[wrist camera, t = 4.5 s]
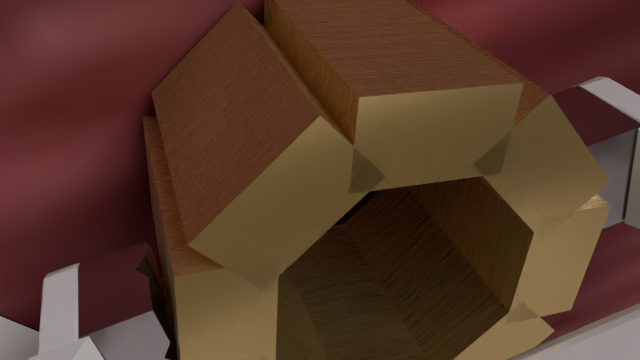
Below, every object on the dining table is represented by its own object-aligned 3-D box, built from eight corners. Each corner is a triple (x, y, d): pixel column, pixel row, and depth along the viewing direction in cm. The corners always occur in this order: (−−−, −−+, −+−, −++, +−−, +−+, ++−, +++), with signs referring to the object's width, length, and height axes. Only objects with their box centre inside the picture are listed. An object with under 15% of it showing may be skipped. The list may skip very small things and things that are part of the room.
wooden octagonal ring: (510, 129, 13) (655, 247, 9) (303, 316, 14) (373, 481, 10) (331, -98, 9) (466, -28, 6) (69, 178, 10) (68, 361, 7)
